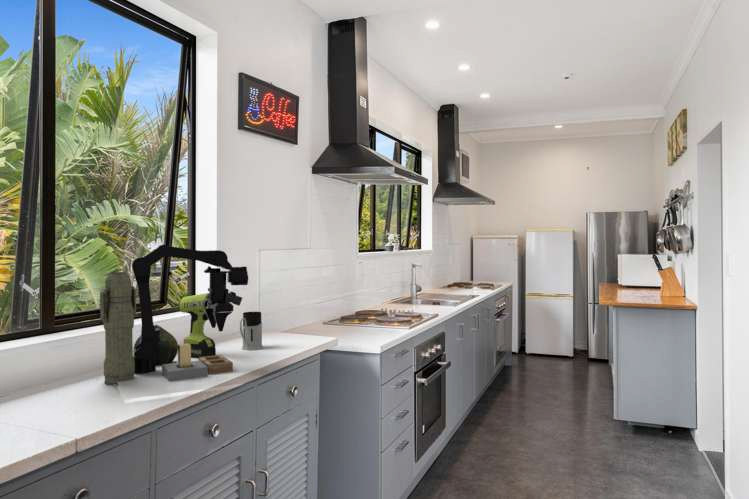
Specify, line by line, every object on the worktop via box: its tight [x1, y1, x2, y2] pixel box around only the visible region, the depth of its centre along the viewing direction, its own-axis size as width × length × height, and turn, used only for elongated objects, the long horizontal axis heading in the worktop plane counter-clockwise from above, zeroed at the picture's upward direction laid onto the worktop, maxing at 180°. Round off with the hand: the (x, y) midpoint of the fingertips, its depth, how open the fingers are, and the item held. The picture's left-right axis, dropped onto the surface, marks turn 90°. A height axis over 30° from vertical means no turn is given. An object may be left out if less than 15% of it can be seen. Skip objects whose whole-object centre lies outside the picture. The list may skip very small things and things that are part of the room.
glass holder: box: [239, 311, 264, 351], centre depth 227 cm, size 9×14×15 cm, turn 164°
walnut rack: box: [198, 354, 234, 375], centre depth 189 cm, size 14×8×4 cm, turn 30°
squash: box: [133, 324, 179, 366], centre depth 200 cm, size 14×15×15 cm
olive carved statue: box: [99, 271, 137, 386], centre depth 175 cm, size 9×12×35 cm
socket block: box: [161, 359, 209, 382], centre depth 180 cm, size 12×12×4 cm
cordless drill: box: [179, 292, 231, 359], centre depth 213 cm, size 23×7×25 cm, turn 70°
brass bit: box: [177, 343, 192, 368], centre depth 180 cm, size 3×3×10 cm
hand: (217, 329), depth 194 cm, fingers open, 9 cm apart
